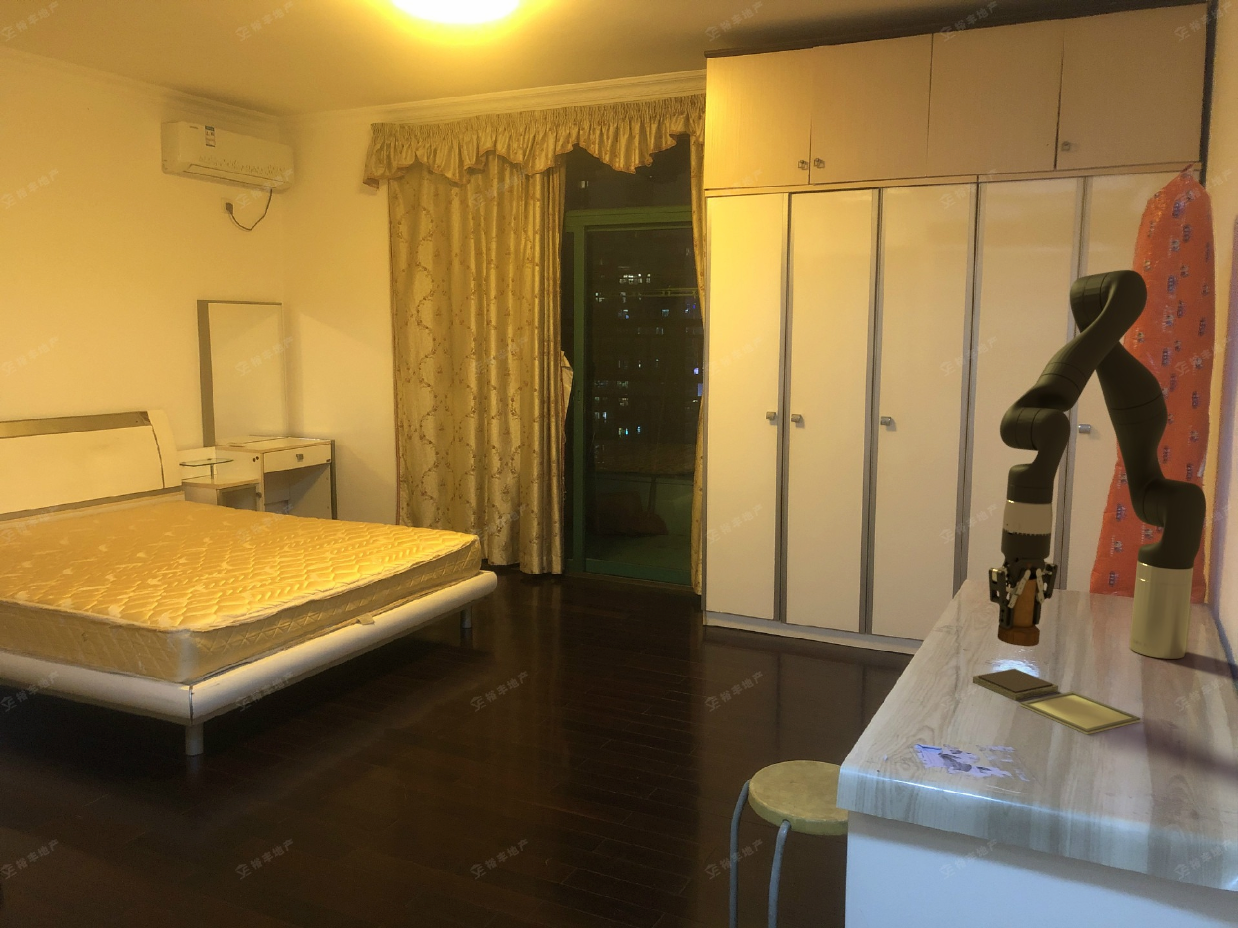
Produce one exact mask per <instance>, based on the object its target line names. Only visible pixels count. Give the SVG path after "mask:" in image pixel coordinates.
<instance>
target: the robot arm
mask: <svg viewBox="0 0 1238 928" xmlns="http://www.w3.org/2000/svg"><path fill="white" fill-rule="evenodd" d="M1147 301H1148V288H1147V284H1146V282H1145V279H1144V278H1143V277H1142V275H1141V274H1140V273H1139V272H1137V271H1135V270H1131V269H1123V270H1122V269H1120V270H1113V271H1107V272H1102V273H1096V274H1091V275H1084V276H1081V277H1079V278H1077V279H1076V280H1075V281H1074V282H1073V283H1072V285H1071V287H1070V291H1069V305H1070V310H1071V312H1072V317H1073V319H1074V322H1075V324H1076V326H1077V329H1078V331H1079V334H1078V335H1077V336H1075V337H1074V338H1072V339H1071V340H1070V341H1069V342H1067V343H1066V344H1065V345H1064V346H1062V347H1061V348H1060V349H1058V350H1057V352H1055V354H1053V356H1052V357H1051V358H1050V360H1049V361H1048V362H1047V363H1046V365H1045V367H1044V368H1043V370H1042V372H1041V373H1040V375H1039V377H1038V379H1037V380H1036V383H1034V385H1033V386H1031V387H1030V388H1029V389H1028V390H1026V391H1025V393H1023V395H1021V396H1020V397H1018V399H1017V400H1016V401H1014V402H1013V403H1012V404H1011V406H1009V408H1008V409H1007V410H1006V412H1004V414H1003V417H1002V418H1001V421H1000V426H999V435H1000V438H1001V441H1002V442H1003V443H1004V445H1006V446H1007V447H1009V448H1011V449H1015V450H1024V451H1025V450H1026V451H1035V452H1037V453H1036V456H1035V458H1034V459H1033V461H1032V462H1031V463H1030V462H1029V463H1020V464H1019V463H1018V464H1016V465H1012V466H1011V467H1010V469H1009V471H1008V474H1007V475H1008V476H1007V487H1006V488H1007V489H1006V497H1005V505H1004V509H1003V514H1002V515H1003V517H1002V518H1003V519H1002V530H1001V542H1000V543H1001V545H1000V551H1001V554H1003V556H1004V560H1003V563H1002V566H1001V567H998V568H994V567H990V568H989V569H988V585H989V588H988V589H989V600H990V603H991V602H992V603H995V604H998V606H999V611H998V612H999V614H998V623H999V624H1000V626H1001V627H1002V628H1005V629H1012V628H1013V621H1014V608H1013V606H1014V604H1015V602H1016V599H1017V597H1018V596H1020V595H1021V593H1022V591H1023V588H1024V585H1025V583H1026V581H1027V580H1033V579H1035V578H1036V588H1035V598H1034V608H1033V619H1032V623H1033V624H1035V625H1039V624H1040V620H1041V615H1042V605H1043V604H1044V602H1045V600H1047V599H1049V600H1050V599H1052V597H1053V593H1054V589H1055V583H1056V578H1057V574H1058V569H1059V566H1058V564H1056V563H1053V562H1052V563H1051V562H1048V561H1046V559H1048V558H1049V557H1050V553H1051V541H1052V540H1051V539H1052V531H1053V530H1052V529H1053V520H1054V519H1053V518H1054V517H1053V516H1054V514H1053V513H1054V511H1053V501H1054V500H1053V499H1054V498H1053V497H1054V485H1055V478H1056V475H1057V472H1058V469H1059V466H1060V463H1061V460H1062V457H1063V455H1064V452H1065V450H1066V448H1067V445H1068V443H1069V441H1070V437H1071V432H1072V431H1071V429H1072V428H1071V423H1070V420H1069V417H1068V416H1067V415H1066V412H1068V411H1070V410H1071V409H1072V408H1074V406H1075V405H1076V403H1077V402H1078V400H1079V398H1080V397H1081V395H1082V393H1083V391H1084V389H1085V388H1086V386H1087V384H1088V382H1089V381H1090V379H1091V377H1092V376H1093V374H1094V372H1096V376H1097V379H1098V382H1099V385H1100V389H1101V391H1102V395H1103V399H1104V403H1105V405H1106V406H1105V407H1106V409H1107V412H1108V415H1109V419H1110V422H1111V424H1112V427H1113V430H1114V434H1115V435H1116V440H1117V442H1118V443H1117V444H1118V447H1119V449H1120V450H1119V451H1120V454H1121V458H1122V462H1123V465H1124V466H1123V467H1124V471H1125V476H1126V481H1127V486H1128V492H1129V493H1128V494H1129V498H1130V502H1131V506H1132V509H1133V512H1134V514H1135V515H1136V517H1137V518H1138V520H1139V521H1141V522H1143V523H1145V524H1147V525H1151V526H1152V527H1159V528H1163V531H1162V534H1161V537H1160V540H1159V541H1157V542H1155V543H1154V542H1153V543H1147V544H1143V545H1141V546H1139V549H1138V551H1137V561H1136V562H1137V563H1136V569H1135V570H1136V573H1135V584H1134V592H1133V593H1134V595H1133V604H1132V614H1131V615H1132V616H1131V617H1132V618H1131V625H1130V638H1129V648H1130V650H1131V651H1132V652H1135V653H1137V654H1140V655H1144V656H1148V657H1151V658H1157V659H1165V660H1166V659H1167V660H1169V659H1171V660H1175V659H1182V658H1184V657H1185V655H1186V654H1187V653H1188V645H1189V636H1190V627H1191V626H1190V625H1191V617H1192V616H1191V615H1192V605H1191V594H1192V585H1193V573H1194V566H1195V565H1194V564H1195V559H1196V558H1197V556H1198V553H1199V550H1200V546H1201V541H1202V534H1203V529H1204V524H1205V523H1204V522H1205V519H1206V518H1205V516H1206V508H1207V504H1206V503H1207V502H1206V496H1205V493H1204V490H1203V489H1202V488H1201V486H1199V485H1198V484H1196V483H1193V482H1189V481H1183V480H1182V481H1181V480H1177V479H1171V478H1170V479H1169V478H1166V477H1165V475H1164V474H1163V471H1162V468H1161V465H1160V461H1159V456H1158V449H1159V446H1160V442H1161V439H1162V438H1163V435H1164V433H1165V431H1166V427H1167V424H1168V419H1169V417H1168V416H1169V415H1168V413H1169V412H1168V408H1167V404H1166V401H1165V397H1164V394H1163V389H1162V387H1161V384H1160V382H1159V379H1158V378H1157V377H1156V376H1155V375H1154V374H1153V373H1152V372H1151V370H1150V369H1148V368H1147V367H1146V365H1144V364H1143V363H1142V362H1141V361H1140V360H1139V359H1138V358H1136V357H1135V356H1134V355H1133V354H1131V352H1129V350H1127V348H1126V347H1125V346H1124V345H1123V344H1122V342H1121V341H1120V340H1121V339H1122V338H1123V337H1124V335H1125V334H1127V332H1128V331H1129V330H1130V328H1131V327H1132V326H1133V325H1134V324H1135V323H1136V322H1137V320H1138V319H1139V318H1140V317H1141V315H1142V313H1143V311H1144V309H1145V307H1146V305H1147ZM1027 564H1032V565H1031V567H1030V569H1028V566H1027ZM1045 584H1046V590H1045ZM1010 585H1011V586H1013V587H1015V588H1014V589H1012V588H1010ZM1009 593H1011V594H1010V597H1009ZM999 624H998V625H999Z"/></svg>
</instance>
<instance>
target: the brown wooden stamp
mask: <svg viewBox="0 0 1238 928" xmlns="http://www.w3.org/2000/svg"><path fill="white" fill-rule="evenodd" d="M1031 565H1032V564H1027V566H1028V569H1030V567H1031ZM1009 588H1012V589H1014V588H1015V587H1013V586H1011V585H1010V584H1009ZM1035 588H1036V578H1035V579H1033V580H1027V581H1026V583H1025V585H1024V588H1023V591H1022V593H1021V595H1020V596H1018V597H1017V599H1016V602H1015V604H1014V606H1013V608H1014V621H1013V628H1012V629H1005V628H1002V627H1001V626H1000V624H998V628H997V639H998V640H999V641H1001V642H1003V643H1005V644H1009V645H1013V646H1020V647H1035V646H1038V645H1039V644H1040V633H1041V630H1040V629H1039V628H1038V627H1037V626H1036V625H1035V624H1033V623H1032V619H1033V608H1034V598H1035ZM1010 594H1011V593H1008V598H1009V597H1010Z"/></svg>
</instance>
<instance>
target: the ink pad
mask: <svg viewBox="0 0 1238 928" xmlns="http://www.w3.org/2000/svg"><path fill="white" fill-rule="evenodd" d="M972 683H974V684H977V685H979V686H981V687H984V688H985V689H988V690H990V691H992V692H994V693H997V694H1000V695H1002V696H1005V697H1006V698H1008V699H1011V700H1014V701H1020V700H1025V699H1030V698H1033V697H1038V696H1043V695H1047V694H1048V695H1049V694H1052V693H1058V691H1059V685H1057V684H1055V683H1052V682H1049V681H1047V680H1044V679H1042V678H1039V677H1038V676H1037V677H1036V676H1034V675H1032V674H1029V673H1027V672H1024V671H1021V670H1019V669H1016V668H1010V669H1005V670H999V671H995V672H990V673H984V674H980V675H973V676H972Z"/></svg>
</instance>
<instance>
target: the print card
mask: <svg viewBox="0 0 1238 928" xmlns="http://www.w3.org/2000/svg"><path fill="white" fill-rule="evenodd" d="M1019 705H1020V706H1021V707H1023V708H1025V709H1027V710H1030V711H1031V712H1034V713H1036V714H1038V715H1041V716H1043V717H1046V718H1048V719H1051V720H1053V721H1055V722H1058V723H1059V724H1061V725H1064V726H1067V727H1068V728H1071V729H1073V730H1076V731H1079V732H1081V733H1083V734H1085V735H1092V734H1094V733H1099V732H1102V731H1108V730H1110V729H1111V730H1112V729H1115V728H1119V727H1123V726H1127V725H1131V724H1135V723H1141V719H1142V718H1141V717H1140V716H1136V715H1133V714H1131V713H1128V712H1127V711H1123V710H1121V709H1119V708H1116V707H1113V706H1110V704H1109V705H1108V704H1106V703H1103V702H1100V701H1098V700H1095V699H1093V698H1091V697H1088V696H1085V695H1082V694H1080V693H1077V692H1075V691H1072V690H1071V691H1066V692H1062V693H1057V694H1053V695H1048V696H1044V697H1040V698H1034V699H1031V700H1030V699H1029V700H1026V701H1021V702H1020V703H1019Z"/></svg>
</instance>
